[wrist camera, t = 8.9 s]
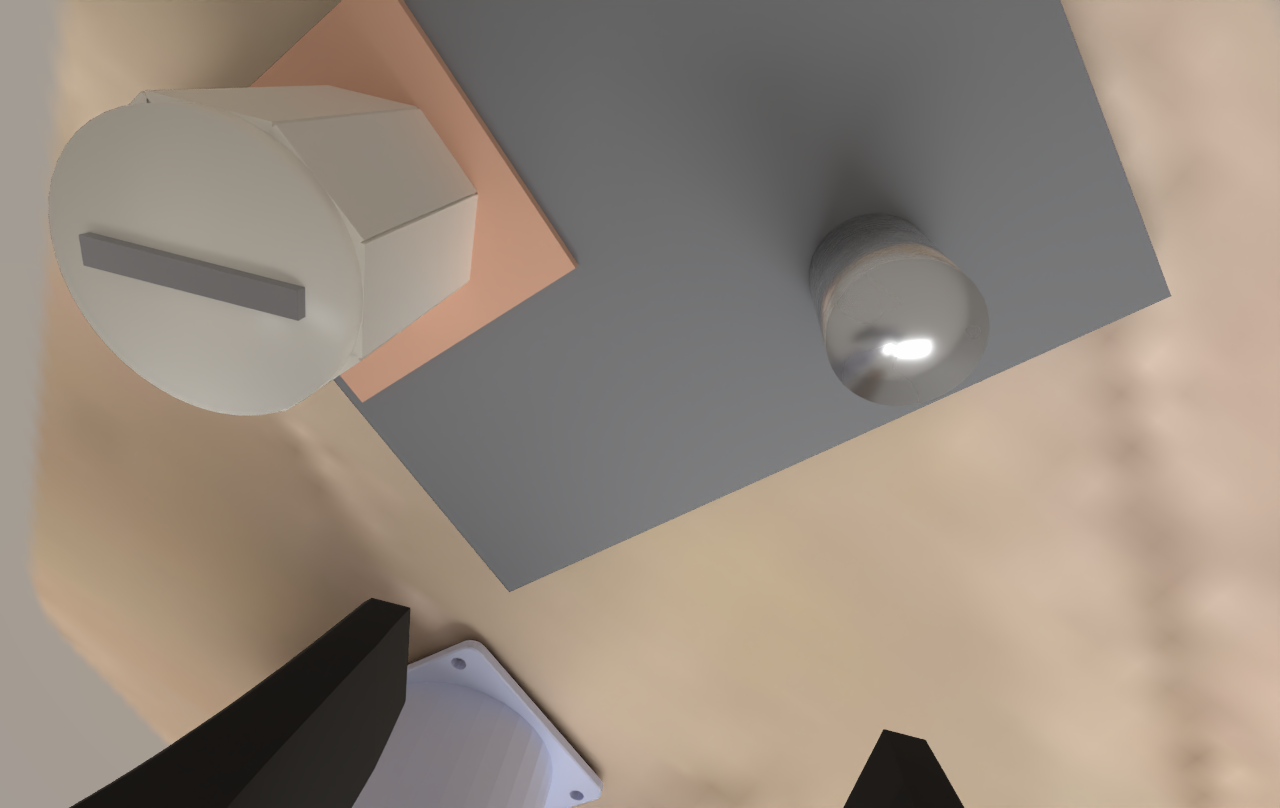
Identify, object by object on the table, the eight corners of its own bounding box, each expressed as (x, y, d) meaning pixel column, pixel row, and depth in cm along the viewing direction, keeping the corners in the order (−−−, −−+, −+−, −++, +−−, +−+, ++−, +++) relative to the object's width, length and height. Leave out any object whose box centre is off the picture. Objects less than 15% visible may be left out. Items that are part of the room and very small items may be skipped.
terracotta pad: (368, 397, 18) (362, 402, 18) (175, 163, 16) (166, 164, 16) (578, 265, 16) (575, 268, 16) (383, -30, 14) (376, -33, 14)
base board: (521, 566, 22) (509, 591, 21) (199, 168, 18) (163, 174, 17) (1142, 280, 16) (1171, 295, 14) (865, -436, 11) (876, -488, 10)
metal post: (841, 350, 16) (866, 429, 12) (788, 253, 15) (798, 308, 12) (952, 294, 15) (1014, 363, 12) (901, 189, 14) (950, 227, 11)
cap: (270, 288, 17) (66, 379, 12) (262, 69, 15) (6, 66, 10) (463, 338, 17) (338, 452, 12) (485, 123, 15) (342, 150, 10)
